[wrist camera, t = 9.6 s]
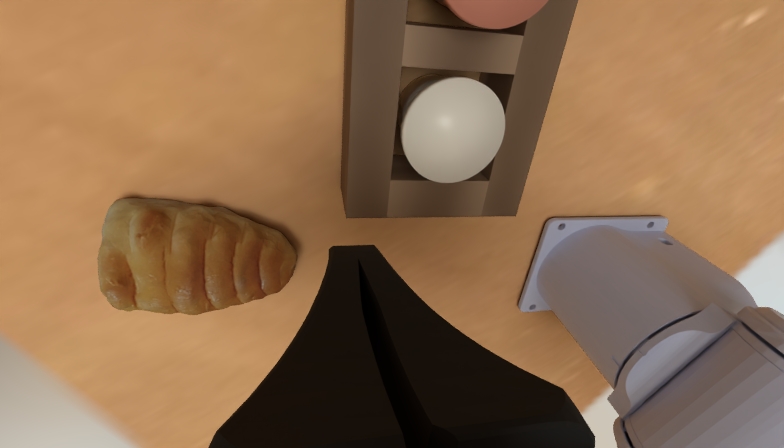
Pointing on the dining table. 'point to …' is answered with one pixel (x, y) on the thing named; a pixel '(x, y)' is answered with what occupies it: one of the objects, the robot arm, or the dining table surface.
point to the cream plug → (449, 126)
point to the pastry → (188, 257)
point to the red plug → (494, 11)
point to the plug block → (451, 52)
